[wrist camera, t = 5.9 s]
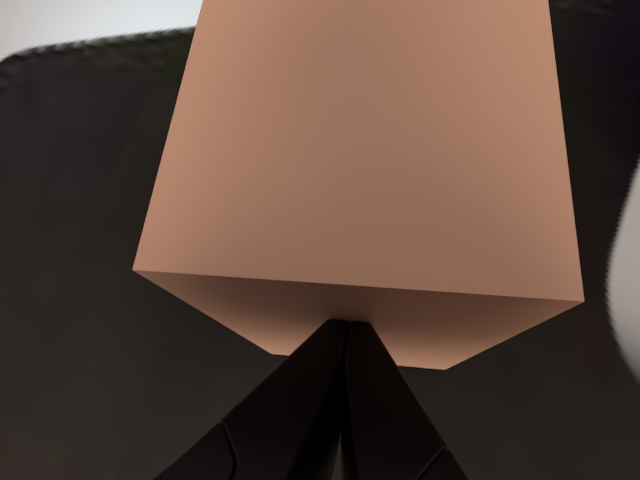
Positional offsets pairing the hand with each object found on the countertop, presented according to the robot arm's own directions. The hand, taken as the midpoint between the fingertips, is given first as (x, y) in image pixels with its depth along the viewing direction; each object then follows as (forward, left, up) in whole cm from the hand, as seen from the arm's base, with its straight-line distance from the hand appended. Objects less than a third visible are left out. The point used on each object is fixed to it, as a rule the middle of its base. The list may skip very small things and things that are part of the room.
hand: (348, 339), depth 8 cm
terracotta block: (+3, +1, -7) cm, 8 cm away
